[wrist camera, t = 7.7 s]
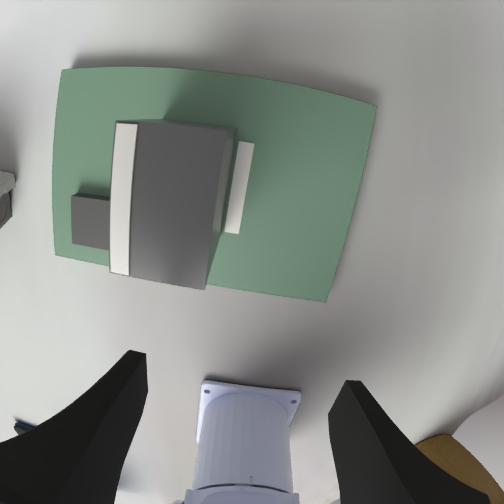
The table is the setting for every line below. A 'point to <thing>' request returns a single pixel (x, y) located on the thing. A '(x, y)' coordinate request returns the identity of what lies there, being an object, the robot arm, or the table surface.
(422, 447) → the plant pot
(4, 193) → the electrical switch
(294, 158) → the pcb
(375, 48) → the table surface
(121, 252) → the plug
